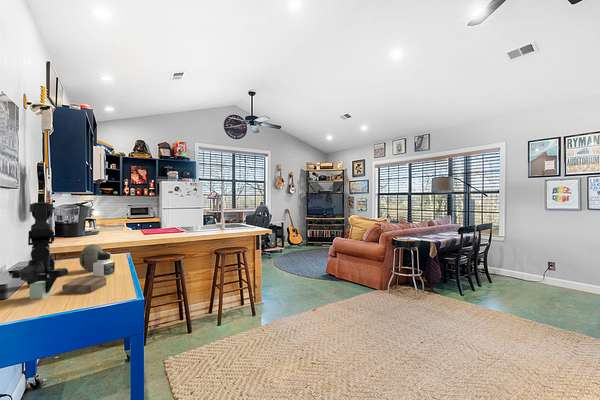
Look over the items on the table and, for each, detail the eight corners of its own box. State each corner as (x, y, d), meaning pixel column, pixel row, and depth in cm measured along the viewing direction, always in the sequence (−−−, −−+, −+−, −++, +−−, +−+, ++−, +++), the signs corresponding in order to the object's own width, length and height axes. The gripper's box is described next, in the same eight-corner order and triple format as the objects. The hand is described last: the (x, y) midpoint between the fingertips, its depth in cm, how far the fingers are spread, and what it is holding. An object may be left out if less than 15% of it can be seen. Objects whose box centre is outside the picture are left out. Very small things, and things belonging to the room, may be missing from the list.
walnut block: (62, 294, 130) (62, 285, 130) (80, 285, 142) (80, 277, 142) (91, 293, 131) (91, 284, 131) (106, 285, 143) (106, 277, 143)
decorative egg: (92, 273, 162) (92, 246, 162) (74, 272, 164) (74, 245, 164) (109, 268, 173) (109, 243, 173) (92, 267, 175) (92, 242, 175)
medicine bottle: (103, 277, 155) (104, 254, 155) (92, 276, 157) (92, 254, 157) (114, 273, 162) (115, 252, 162) (104, 272, 164) (104, 251, 164)
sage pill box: (29, 298, 123) (29, 284, 122) (39, 294, 127) (39, 281, 127) (42, 298, 123) (42, 284, 123) (51, 294, 128) (51, 280, 128)
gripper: (-1, 261, 116) (-1, 300, 116) (49, 260, 118) (49, 299, 118) (23, 255, 127) (23, 291, 127) (69, 255, 129) (68, 290, 129)
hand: (40, 293), depth 125 cm, fingers closed on sage pill box, 5 cm apart
